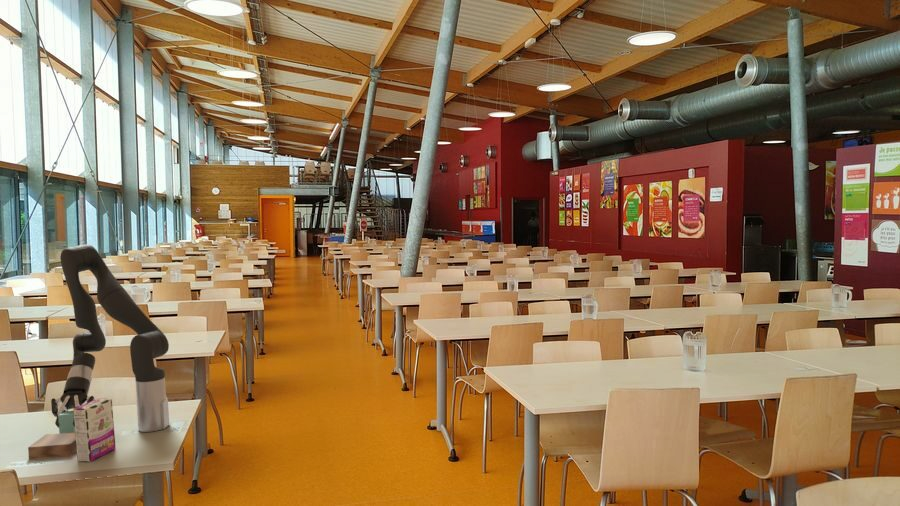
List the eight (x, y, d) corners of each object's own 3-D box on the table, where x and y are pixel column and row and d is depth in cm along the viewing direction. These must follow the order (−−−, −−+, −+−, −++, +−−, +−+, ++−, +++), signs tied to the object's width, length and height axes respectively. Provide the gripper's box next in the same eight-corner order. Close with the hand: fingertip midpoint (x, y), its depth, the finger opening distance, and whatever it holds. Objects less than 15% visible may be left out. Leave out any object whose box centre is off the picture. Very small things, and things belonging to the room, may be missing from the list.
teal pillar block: (79, 433, 225) (78, 410, 225) (74, 437, 221) (72, 414, 220) (65, 434, 225) (63, 411, 224) (59, 438, 220) (58, 415, 220)
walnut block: (86, 443, 216) (85, 431, 216) (71, 456, 204) (70, 444, 204) (46, 446, 214) (45, 434, 214) (29, 460, 202) (28, 447, 202)
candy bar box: (102, 448, 210) (99, 397, 208) (116, 449, 209) (113, 398, 207) (75, 461, 199) (72, 408, 198) (90, 462, 198) (86, 408, 197)
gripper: (52, 377, 228) (39, 422, 217) (97, 374, 230) (86, 419, 219) (60, 388, 233) (47, 433, 222) (103, 385, 236) (93, 429, 224)
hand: (66, 425), depth 221 cm, fingers closed on teal pillar block, 4 cm apart
